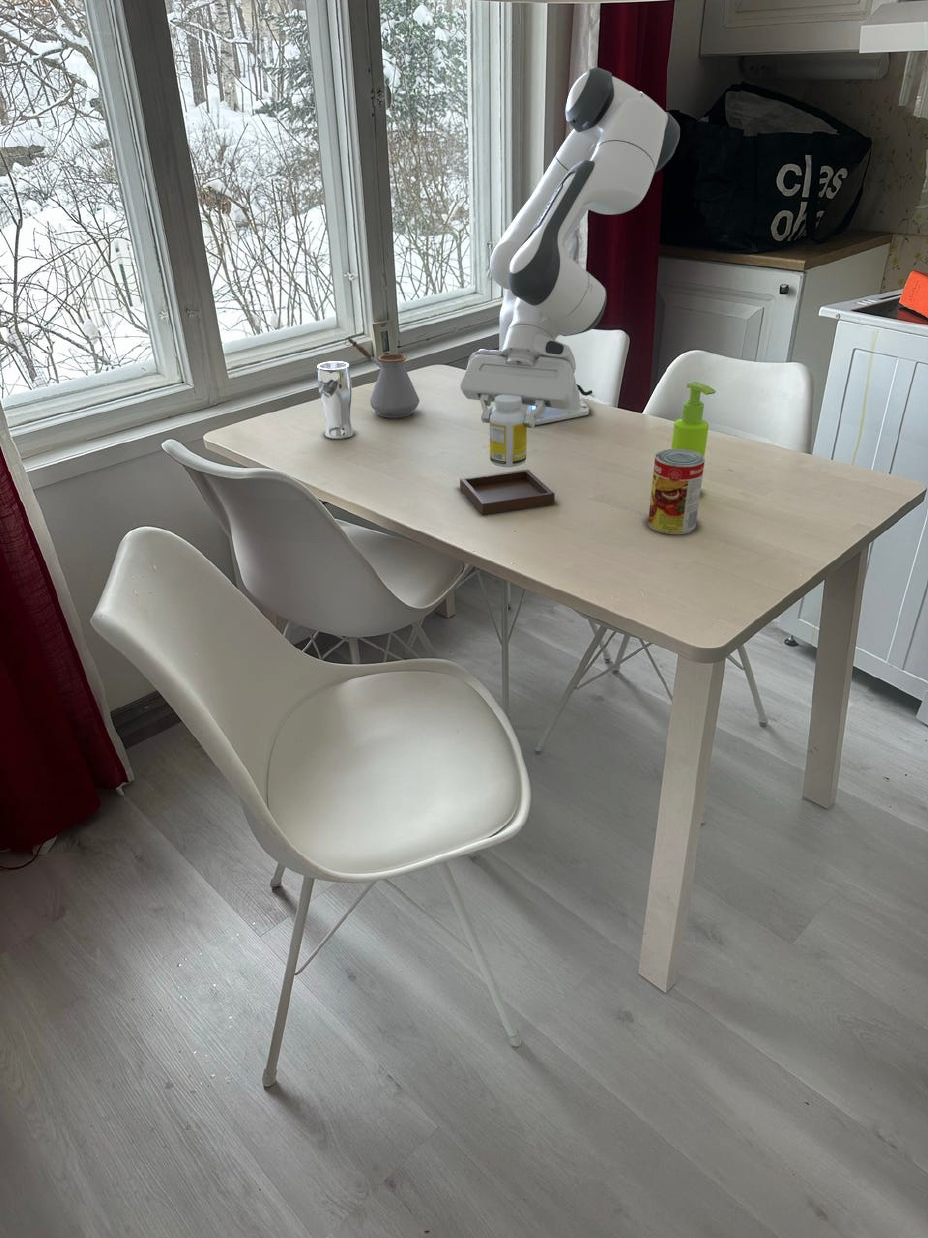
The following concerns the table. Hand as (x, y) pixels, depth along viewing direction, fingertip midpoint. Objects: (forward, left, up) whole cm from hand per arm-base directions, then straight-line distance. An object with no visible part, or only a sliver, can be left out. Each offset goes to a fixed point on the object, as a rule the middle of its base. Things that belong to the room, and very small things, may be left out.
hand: (507, 423), depth 149 cm
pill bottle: (0, 0, -7) cm, 7 cm away
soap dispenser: (-31, +9, -14) cm, 35 cm away
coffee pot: (+9, -61, -14) cm, 63 cm away
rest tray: (0, -1, -14) cm, 14 cm away
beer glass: (+22, -46, -14) cm, 52 cm away
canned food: (-22, +20, -14) cm, 33 cm away
